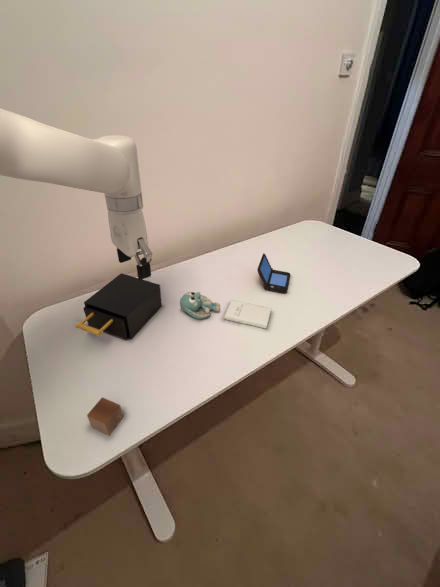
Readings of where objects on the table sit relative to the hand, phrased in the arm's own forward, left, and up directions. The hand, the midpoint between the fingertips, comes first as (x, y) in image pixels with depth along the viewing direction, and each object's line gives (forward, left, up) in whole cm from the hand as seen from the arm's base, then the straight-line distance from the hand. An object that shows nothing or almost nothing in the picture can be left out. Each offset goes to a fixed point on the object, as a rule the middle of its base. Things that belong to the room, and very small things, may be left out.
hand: (134, 269), depth 75 cm
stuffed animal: (+12, -12, -18) cm, 25 cm away
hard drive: (+16, -26, -18) cm, 36 cm away
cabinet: (+1, +6, -18) cm, 19 cm away
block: (-28, -10, -18) cm, 35 cm away
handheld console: (+37, -28, -18) cm, 50 cm away
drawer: (-3, +6, -17) cm, 19 cm away
